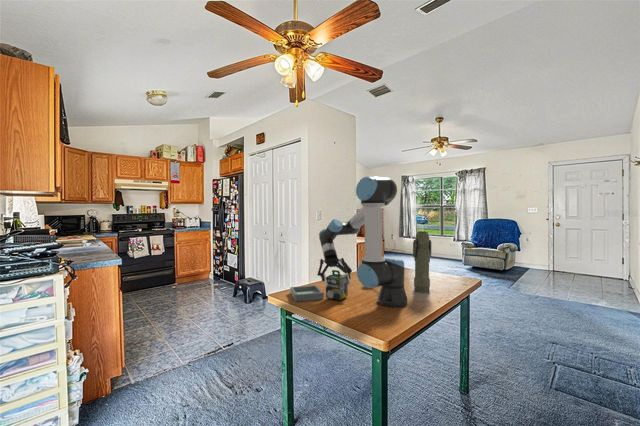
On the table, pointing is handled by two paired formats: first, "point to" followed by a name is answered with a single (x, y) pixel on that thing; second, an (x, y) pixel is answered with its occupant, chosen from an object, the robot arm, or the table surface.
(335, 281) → the chalk box
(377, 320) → the table surface
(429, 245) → the green stone statue
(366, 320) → the table surface
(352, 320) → the table surface
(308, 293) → the tray
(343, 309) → the table surface
